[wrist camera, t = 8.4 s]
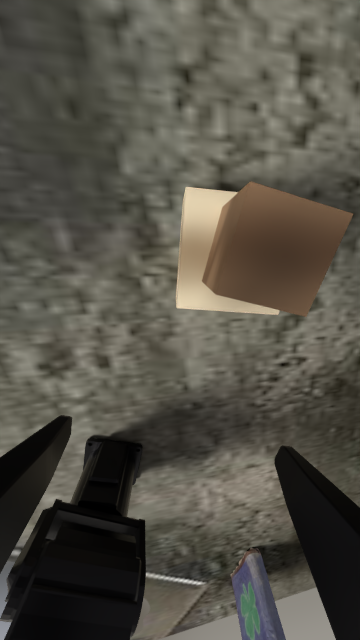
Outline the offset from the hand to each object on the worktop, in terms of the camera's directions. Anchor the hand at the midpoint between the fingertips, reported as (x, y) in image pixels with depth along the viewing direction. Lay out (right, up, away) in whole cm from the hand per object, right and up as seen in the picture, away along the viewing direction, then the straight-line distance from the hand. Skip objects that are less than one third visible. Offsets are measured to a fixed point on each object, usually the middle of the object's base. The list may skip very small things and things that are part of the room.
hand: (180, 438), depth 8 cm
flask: (+11, -35, +25) cm, 45 cm away
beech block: (+4, +11, +10) cm, 15 cm away
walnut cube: (+5, +10, +6) cm, 12 cm away
